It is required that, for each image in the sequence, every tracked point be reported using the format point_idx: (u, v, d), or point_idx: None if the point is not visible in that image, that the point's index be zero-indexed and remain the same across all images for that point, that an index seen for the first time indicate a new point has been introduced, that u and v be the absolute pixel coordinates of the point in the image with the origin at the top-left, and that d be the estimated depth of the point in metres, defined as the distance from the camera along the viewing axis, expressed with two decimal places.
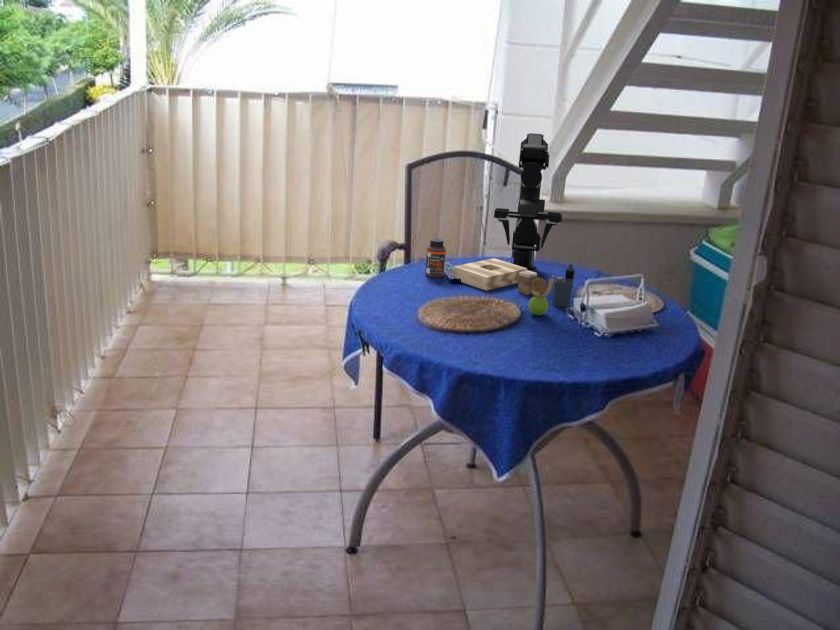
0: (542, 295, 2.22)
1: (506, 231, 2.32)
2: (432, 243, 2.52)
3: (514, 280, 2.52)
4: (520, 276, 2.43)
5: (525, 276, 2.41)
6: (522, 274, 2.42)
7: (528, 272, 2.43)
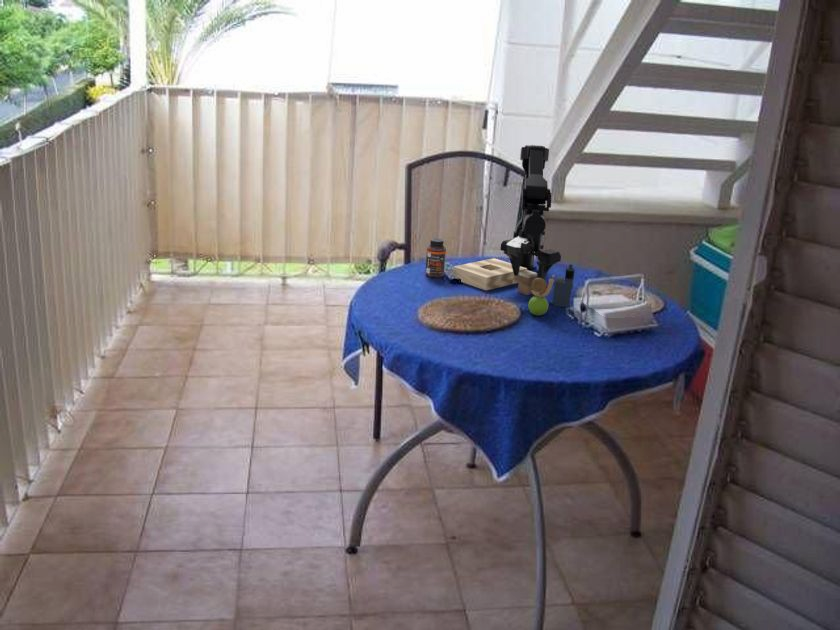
0: (542, 295, 2.22)
1: (511, 263, 2.45)
2: (432, 243, 2.52)
3: (514, 280, 2.52)
4: (520, 276, 2.43)
5: (525, 276, 2.41)
6: (522, 274, 2.42)
7: (528, 272, 2.43)
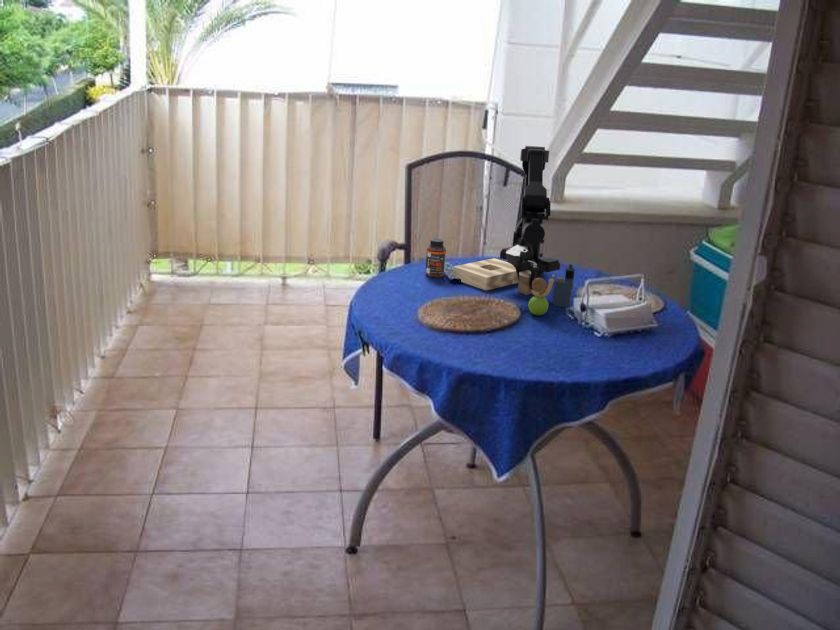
0: (542, 295, 2.22)
1: (517, 273, 2.44)
2: (432, 243, 2.52)
3: (514, 280, 2.52)
4: (520, 276, 2.42)
5: (525, 276, 2.41)
6: (522, 274, 2.42)
7: (528, 272, 2.43)
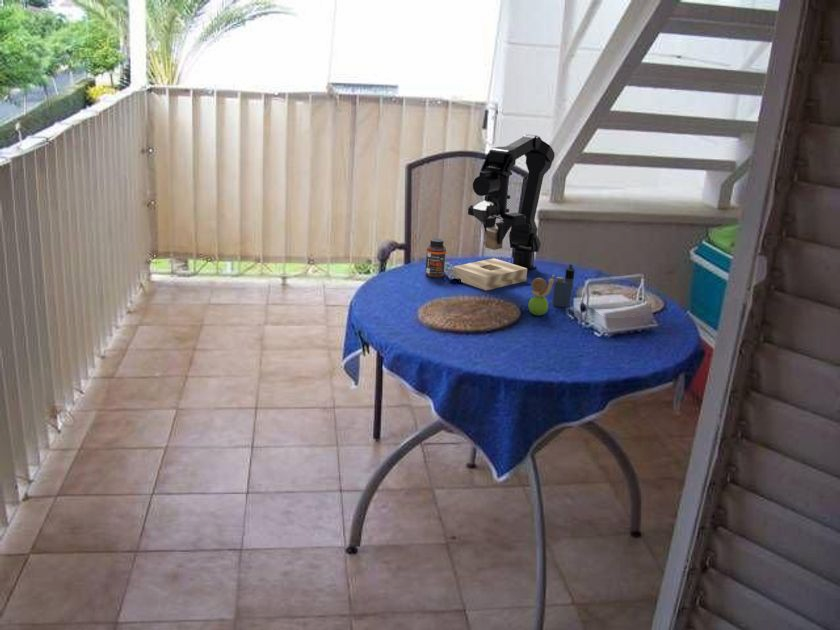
0: (542, 295, 2.22)
1: (485, 229, 2.50)
2: (432, 243, 2.52)
3: (514, 280, 2.52)
4: (487, 232, 2.49)
5: (492, 231, 2.48)
6: (489, 229, 2.48)
7: (495, 227, 2.50)
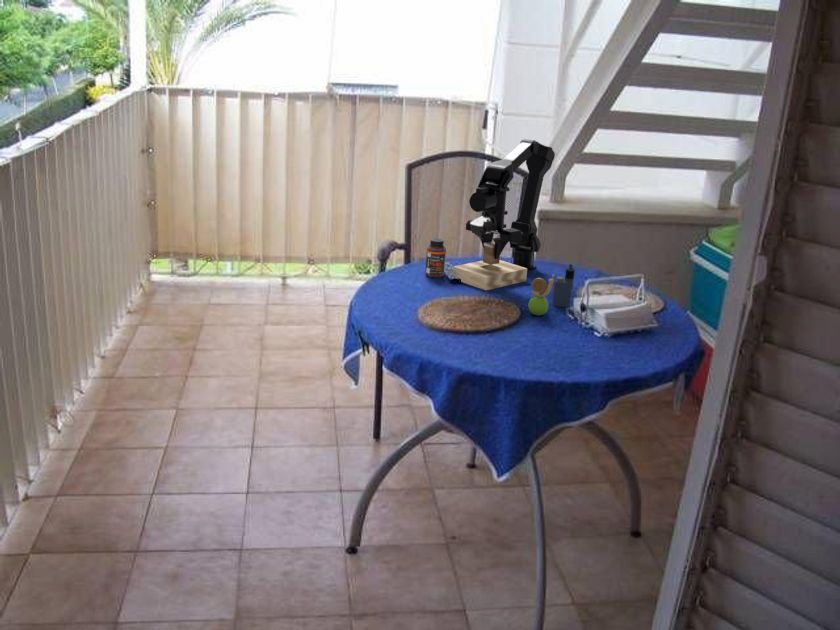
0: (542, 295, 2.22)
1: (482, 244, 2.52)
2: (432, 243, 2.52)
3: (514, 280, 2.52)
4: (484, 247, 2.51)
5: (489, 246, 2.50)
6: (486, 244, 2.50)
7: (493, 242, 2.52)
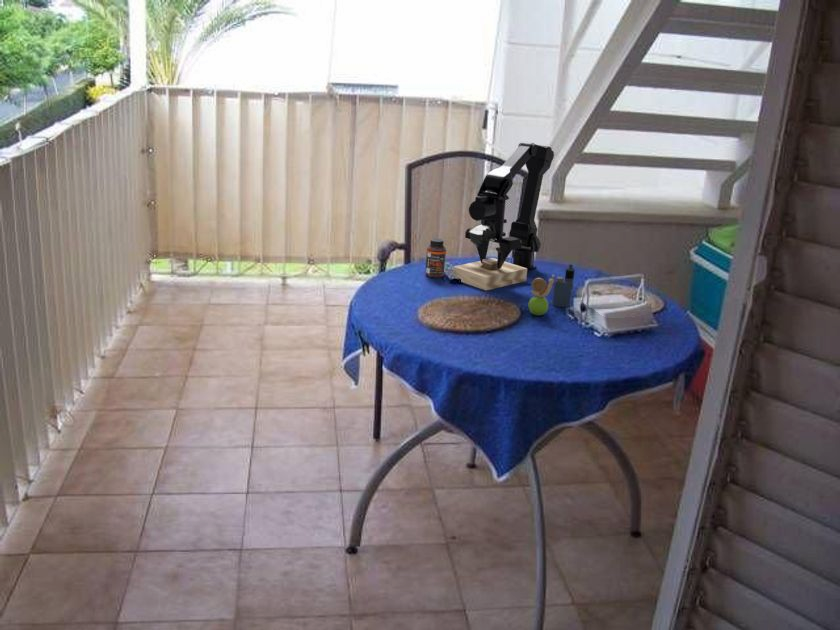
0: (542, 295, 2.22)
1: (478, 251, 2.54)
2: (432, 243, 2.52)
3: (514, 280, 2.52)
4: (483, 263, 2.53)
5: (488, 263, 2.51)
6: (485, 261, 2.52)
7: (491, 259, 2.53)
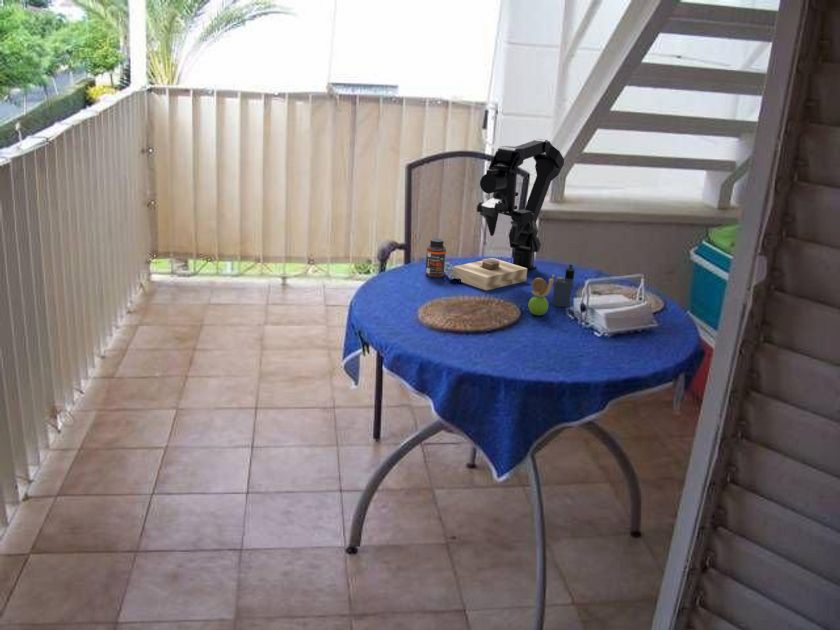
0: (542, 295, 2.22)
1: (487, 223, 2.58)
2: (432, 243, 2.52)
3: (514, 280, 2.52)
4: (483, 263, 2.53)
5: (488, 263, 2.51)
6: (485, 261, 2.52)
7: (491, 259, 2.53)
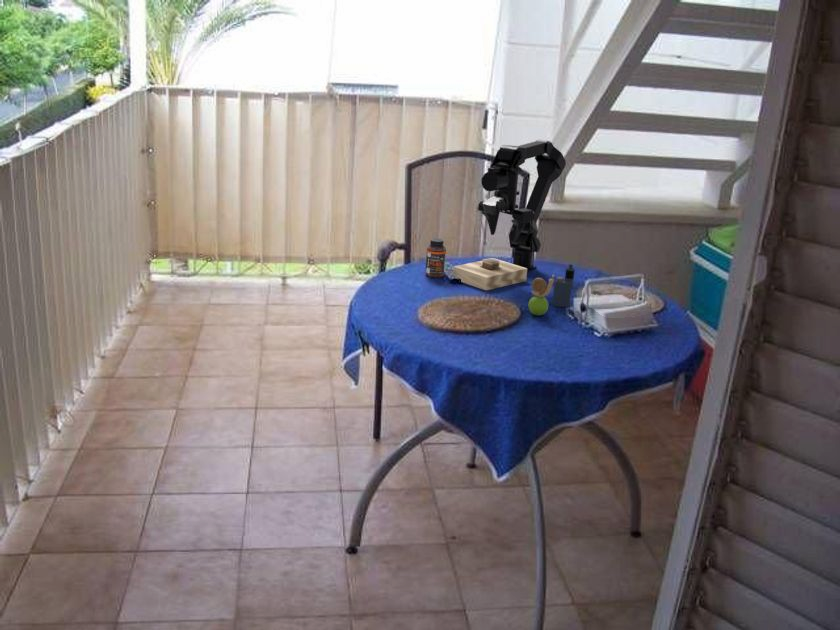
0: (542, 295, 2.22)
1: (488, 222, 2.58)
2: (432, 243, 2.52)
3: (514, 280, 2.52)
4: (483, 263, 2.53)
5: (488, 263, 2.51)
6: (485, 261, 2.52)
7: (491, 259, 2.53)
